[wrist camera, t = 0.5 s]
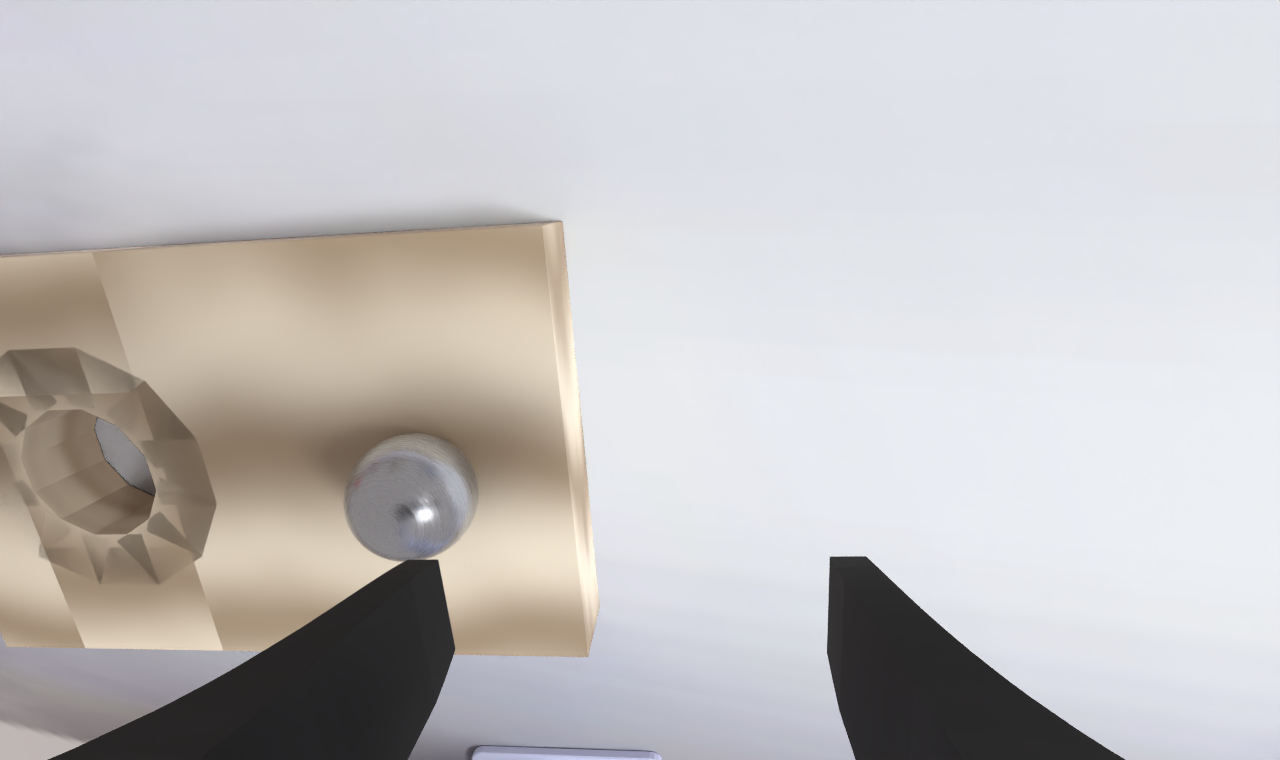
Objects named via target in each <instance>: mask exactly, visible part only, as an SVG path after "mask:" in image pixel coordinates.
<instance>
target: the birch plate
mask: <svg viewBox="0 0 1280 760" xmlns="http://www.w3.org/2000/svg"><path fill="white" fill-rule="evenodd" d="M97 417H99V418H101V419H103V420H105V421H107V422H109V423H111V424H113V425H115V426H117V427H118V428H119V429H120V430H121V431H122V432H123V433H124V434H125V435H126V436H127V437H128V438H129V440H130V441H131V442H132V443H133V444H134V445H135V446H136V447H137V448H138V449H139V450H140V452H141V453H142V454H143V455H144V456H145V458H146V461H147V464H148V467H149V470H150V473H151V476H152V479H153V482H154V485H155V488H156V493H155V497H154V496H152V495H150V494H148V493H145V492H143V491H141V490H139V489H137V488H135V487H133V486H130V485H128V484H127V483H126V482H125V480H124V479H123V478H122V477H121V476H120V475H119V474H118V473H117V472H116V471H115V470H114V469H113V468H112V467H111V466H110V464H109V463H108V462H107V461H106V460H105V458H104V456H103V453H102V450H101V447H100V445H99V442H98V439H97V436H96V433H95V431H94V428H95V423H96V418H97ZM412 433H419V434H427V435H433V436H436V437H439V438H442V439H444V440H446V441H448V442H450V443H451V444H453V445H454V446H456V447H457V448H458V449H459V450H460V451H461V452H462V453H463V454H464V455H465V456H466V457H467V459H468V460H469V461H470V463H471V465H472V467H473V469H474V471H475V474H476V477H477V481H478V488H479V497H478V505H477V510H476V513H475V516H474V519H473V521H472V522H471V524H470V526H469V528H468V530H467V531H466V532H465V533H464V535H463V536H462V537H461V538H460V540H458V541H457V542H456V543H455V544H454V545H453V546H452V547H450V548H449V549H447V550H446V551H444V552H443V553H441V554H439V555H437V556H435V557H432V558H429V559H426V560H430V559H438V561H439V566H440V571H441V576H442V582H443V587H444V592H445V597H446V602H447V608H448V613H449V618H450V623H451V628H452V633H453V639H454V644H455V652H454V655H505V656H561V657H588V655H589V651H590V646H591V642H592V638H593V634H594V629H595V625H596V621H597V616H598V612H599V608H600V606H599V596H598V585H597V575H596V565H595V554H594V544H593V534H592V523H591V513H590V503H589V492H588V482H587V472H586V461H585V451H584V441H583V430H582V420H581V410H580V399H579V389H578V379H577V368H576V358H575V348H574V337H573V327H572V317H571V306H570V296H569V286H568V275H567V265H566V255H565V244H564V234H563V224H562V221H557V222H540V223H524V224H507V225H490V226H474V227H457V228H441V229H424V230H408V231H391V232H375V233H358V234H342V235H325V236H308V237H292V238H275V239H259V240H242V241H226V242H209V243H193V244H176V245H159V246H143V247H126V248H110V249H93V250H77V251H60V252H44V253H27V254H11V255H0V632H1V634H2V636H3V638H4V641H5V643H6V645H7V647H55V648H111V649H168V650H224V651H264V650H266V649H267V648H269V647H271V646H272V645H274V644H275V643H277V642H279V641H280V640H282V639H284V638H285V637H287V636H288V635H290V634H292V633H293V632H295V631H297V630H298V629H300V628H301V627H303V626H305V625H306V624H308V623H309V622H311V621H312V620H314V619H315V618H317V617H318V616H320V615H321V614H323V613H324V612H326V611H327V610H329V609H331V608H332V607H334V606H335V605H337V604H338V603H340V602H341V601H343V600H344V599H346V598H347V597H349V596H350V595H352V594H353V593H355V592H356V591H358V590H359V589H361V588H362V587H364V586H365V585H367V584H368V583H370V582H371V581H373V580H375V579H376V578H378V577H379V576H381V575H382V574H384V573H386V572H387V571H389V570H390V569H392V568H394V567H395V566H397V565H399V564H401V563H403V562H397V561H391V560H388V559H384V558H382V557H379V556H377V555H375V554H373V553H371V552H370V551H368V550H367V549H366V548H365V547H363V546H362V545H361V544H360V543H359V542H358V541H357V539H356V538H355V537H354V535H353V534H352V532H351V530H350V528H349V526H348V524H347V521H346V518H345V513H344V505H343V499H344V491H345V486H346V483H347V480H348V478H349V475H350V473H351V471H352V470H353V468H354V467H355V465H356V464H357V462H358V461H359V460H360V459H361V457H362V456H363V455H364V454H365V453H366V452H367V451H369V450H370V449H371V448H373V447H374V446H376V445H377V444H379V443H381V442H382V441H384V440H387V439H390V438H392V437H395V436H399V435H403V434H412Z"/></svg>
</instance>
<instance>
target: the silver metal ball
mask: <svg viewBox="0 0 1280 760" xmlns="http://www.w3.org/2000/svg"><path fill="white" fill-rule="evenodd" d="M478 497H479V488H478V481H477V477H476V474H475V471H474V469H473V467H472V465H471V463H470V461H469V460H468V459H467V457H466V456H465V455H464V454H463V453H462V452H461V451H460V450H459V449H458V448H457V447H456V446H454V445H453V444H451V443H450V442H448V441H446V440H444V439H442V438H439V437H436V436H433V435H427V434H419V433H412V434H403V435H399V436H395V437H392V438H390V439H387V440H384V441H382V442H381V443H379V444H377V445H376V446H374V447H373V448H371V449H370V450H369V451H367V452H366V453H365V454H364V455H363V456H362V457H361V459H360V460H359V461H358V462H357V464H356V465H355V467H354V468H353V470H352V471H351V473H350V475H349V478H348V480H347V483H346V486H345V491H344V499H343V505H344V513H345V518H346V521H347V524H348V526H349V528H350V530H351V532H352V534H353V535H354V537H355V538H356V539H357V541H358V542H359V543H360V544H361V545H362V546H363V547H365V548H366V549H367V550H368V551H370V552H371V553H373V554H375V555H377V556H379V557H382V558H384V559H388V560H391V561H397V562H404V561H406V560H426V559H429V558H432V557H435V556H437V555H439V554H441V553H443V552H444V551H446V550H447V549H449V548H450V547H452V546H453V545H454V544H455V543H456V542H457V541H458V540H460V538H461V537H462V536H463V535H464V533H465V532H466V531H467V530H468V528H469V526H470V524H471V522H472V521H473V519H474V516H475V513H476V510H477V505H478Z"/></svg>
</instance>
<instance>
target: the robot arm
mask: <svg viewBox="0 0 1280 760" xmlns="http://www.w3.org/2000/svg"><path fill="white" fill-rule="evenodd" d="M454 652H455V644H454V639H453V633H452V628H451V623H450V618H449V613H448V608H447V602H446V597H445V592H444V587H443V582H442V576H441V571H440V566H439V561H438V559H430V560H406V561H404V562H403V563H401V564H399V565H397V566H395V567H394V568H392V569H390V570H389V571H387V572H386V573H384V574H382V575H381V576H379V577H378V578H376V579H375V580H373V581H371V582H370V583H368V584H367V585H365V586H364V587H362V588H361V589H359V590H358V591H356V592H355V593H353V594H352V595H350V596H349V597H347V598H346V599H344V600H343V601H341V602H340V603H338V604H337V605H335V606H334V607H332V608H331V609H329V610H327V611H326V612H324V613H323V614H321V615H320V616H318V617H317V618H315V619H314V620H312V621H311V622H309V623H308V624H306V625H305V626H303V627H301V628H300V629H298V630H297V631H295V632H293V633H292V634H290V635H288V636H287V637H285V638H284V639H282V640H280V641H279V642H277V643H275V644H274V645H272V646H271V647H269V648H267V649H266V650H264V651H262V652H261V653H259V654H257V655H256V656H254V657H253V658H251V659H249V660H248V661H246V662H244V663H243V664H241V665H239V666H238V667H236V668H234V669H232V670H231V671H229V672H227V673H225V674H224V675H222V676H220V677H218V678H216V679H215V680H213V681H211V682H209V683H207V684H205V685H204V686H202V687H200V688H198V689H196V690H194V691H192V692H190V693H188V694H186V695H185V696H183V697H181V698H179V699H177V700H175V701H173V702H171V703H169V704H167V705H165V706H163V707H161V708H159V709H157V710H155V711H154V712H151V713H149V714H147V715H145V716H143V717H141V718H139V719H136V720H134V721H132V722H130V723H128V724H126V725H124V726H121V727H119V728H117V729H115V730H113V731H111V732H109V733H106V734H104V735H102V736H100V737H98V738H96V739H94V740H91V741H89V742H87V743H85V744H83V745H81V746H79V747H76V748H74V749H72V750H70V751H67V752H65V753H63V754H61V755H58V756H56V757H53V758H51V759H48V760H408V758H409V756H410V754H411V752H412V750H413V748H414V746H415V744H416V742H417V740H418V738H419V736H420V734H421V732H422V730H423V728H424V726H425V724H426V722H427V720H428V718H429V716H430V714H431V712H432V710H433V708H434V706H435V704H436V702H437V699H438V696H439V694H440V691H441V689H442V686H443V683H444V681H445V678H446V675H447V672H448V669H449V666H450V664H451V661H452V658H453V655H454ZM827 654H828V659H829V664H830V669H831V674H832V678H833V683H834V688H835V692H836V697H837V701H838V706H839V710H840V713H841V716H842V720H843V723H844V726H845V729H846V732H847V735H848V738H849V741H850V744H851V747H852V750H853V753H854V756H855V759H856V760H1125V759H1123V758H1122V757H1120V756H1118V755H1117V754H1115V753H1113V752H1112V751H1110V750H1108V749H1107V748H1105V747H1104V746H1102V745H1101V744H1099V743H1097V742H1096V741H1094V740H1093V739H1091V738H1090V737H1088V736H1087V735H1085V734H1083V733H1082V732H1080V731H1079V730H1077V729H1076V728H1074V727H1073V726H1071V725H1070V724H1069V723H1067V722H1066V721H1064V720H1063V719H1061V718H1060V717H1058V716H1057V715H1056V714H1054V713H1053V712H1051V711H1050V710H1048V709H1047V708H1045V707H1044V706H1042V705H1041V704H1040V703H1038V702H1037V701H1035V700H1034V699H1032V698H1031V697H1029V696H1028V695H1027V694H1025V693H1024V692H1023V691H1021V690H1020V689H1019V688H1017V687H1016V686H1015V685H1013V684H1012V683H1010V682H1009V681H1008V680H1006V679H1005V678H1004V677H1003V676H1001V675H1000V674H999V673H998V672H996V671H995V670H994V669H992V668H991V667H990V666H989V665H987V664H986V663H985V662H984V661H982V660H981V659H980V658H979V657H977V656H976V655H975V654H973V653H972V652H971V651H970V650H969V649H967V648H966V647H965V646H964V645H963V644H961V643H960V642H959V641H958V640H957V639H955V638H954V637H953V636H952V635H951V634H950V633H948V632H947V631H946V630H945V629H944V628H943V627H941V626H940V625H939V624H938V623H937V622H936V621H935V620H934V619H932V618H931V617H930V616H929V615H928V614H927V613H926V612H925V611H923V610H922V609H921V608H920V607H919V606H918V605H917V604H916V603H915V602H914V601H913V600H912V599H910V598H909V597H908V596H907V595H906V594H905V593H904V592H903V591H902V590H901V589H900V588H899V587H898V586H897V585H896V584H895V583H893V582H892V581H891V580H890V579H889V578H888V577H887V576H886V575H885V574H884V573H883V572H882V571H881V570H880V569H879V568H878V567H877V566H876V565H874V564H873V563H872V562H871V561H870V560H869V559H868V558H867V557H830V573H829V607H828V640H827ZM472 760H662V758H661V756H660V755H659V754H657V753H655V752H650V751H621V750H591V749H562V748H533V747H504V746H479V747H478V748H476V749H475V751H474V753H473V756H472Z"/></svg>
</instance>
